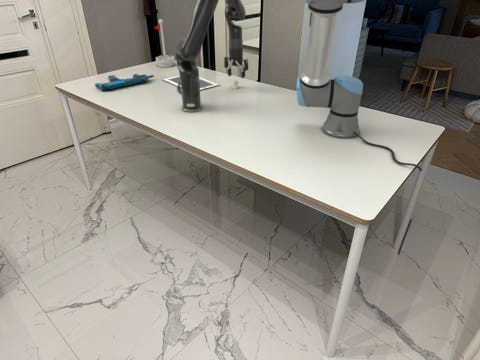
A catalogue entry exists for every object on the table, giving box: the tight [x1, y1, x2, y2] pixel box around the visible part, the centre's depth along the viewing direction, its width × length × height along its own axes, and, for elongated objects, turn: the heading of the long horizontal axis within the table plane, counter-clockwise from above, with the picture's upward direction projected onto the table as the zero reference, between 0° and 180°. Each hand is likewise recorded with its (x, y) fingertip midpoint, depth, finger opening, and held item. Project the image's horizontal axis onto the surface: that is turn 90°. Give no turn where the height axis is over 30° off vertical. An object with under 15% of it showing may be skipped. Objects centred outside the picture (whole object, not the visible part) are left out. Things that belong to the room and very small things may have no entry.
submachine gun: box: [94, 73, 155, 91], centre depth 208 cm, size 34×4×25 cm
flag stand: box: [153, 18, 176, 68], centre depth 235 cm, size 13×13×30 cm
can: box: [231, 79, 239, 90], centre depth 199 cm, size 4×4×4 cm
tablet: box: [162, 75, 220, 91], centre depth 208 cm, size 32×20×1 cm, turn 41°
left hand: (236, 76), depth 191 cm, fingers open, 8 cm apart
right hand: (316, 28), depth 162 cm, fingers open, 13 cm apart
